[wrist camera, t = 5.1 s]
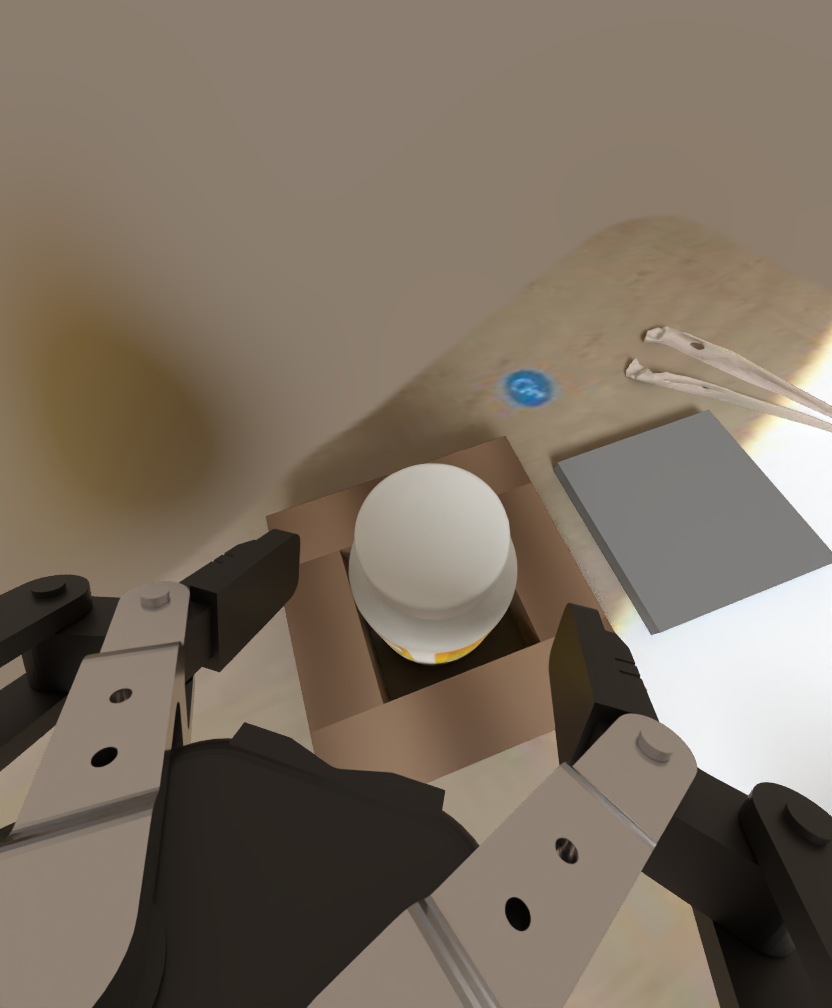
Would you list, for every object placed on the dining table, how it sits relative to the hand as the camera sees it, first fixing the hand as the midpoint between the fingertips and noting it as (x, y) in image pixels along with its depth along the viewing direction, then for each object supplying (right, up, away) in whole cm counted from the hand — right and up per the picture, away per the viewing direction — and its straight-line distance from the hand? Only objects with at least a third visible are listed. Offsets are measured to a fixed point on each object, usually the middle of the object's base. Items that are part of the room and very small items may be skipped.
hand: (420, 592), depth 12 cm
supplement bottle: (+1, -2, +7) cm, 8 cm away
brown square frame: (+1, -2, +7) cm, 7 cm away
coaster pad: (+13, +2, +8) cm, 15 cm away
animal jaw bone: (+21, +8, +11) cm, 25 cm away
